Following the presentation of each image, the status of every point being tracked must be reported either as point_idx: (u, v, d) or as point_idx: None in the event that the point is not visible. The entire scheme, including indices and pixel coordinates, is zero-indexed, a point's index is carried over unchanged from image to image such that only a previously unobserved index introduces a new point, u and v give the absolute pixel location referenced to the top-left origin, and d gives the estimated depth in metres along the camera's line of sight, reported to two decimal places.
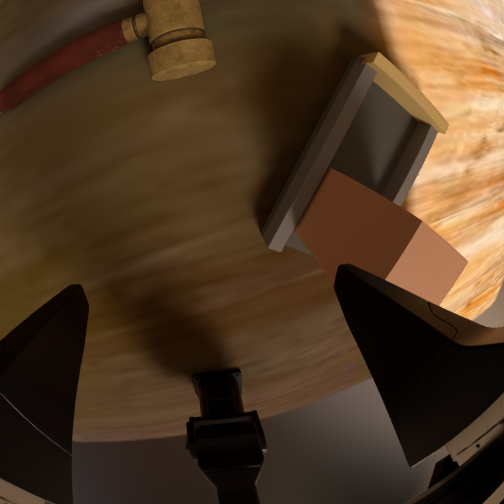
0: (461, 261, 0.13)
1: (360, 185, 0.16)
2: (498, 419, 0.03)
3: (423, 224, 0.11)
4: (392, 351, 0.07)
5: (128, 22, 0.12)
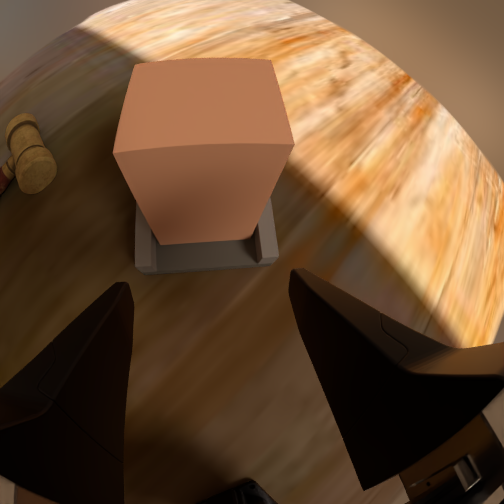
0: (252, 62, 0.11)
1: None
2: (454, 458, 0.03)
3: (139, 64, 0.10)
4: (339, 367, 0.06)
5: (4, 164, 0.18)
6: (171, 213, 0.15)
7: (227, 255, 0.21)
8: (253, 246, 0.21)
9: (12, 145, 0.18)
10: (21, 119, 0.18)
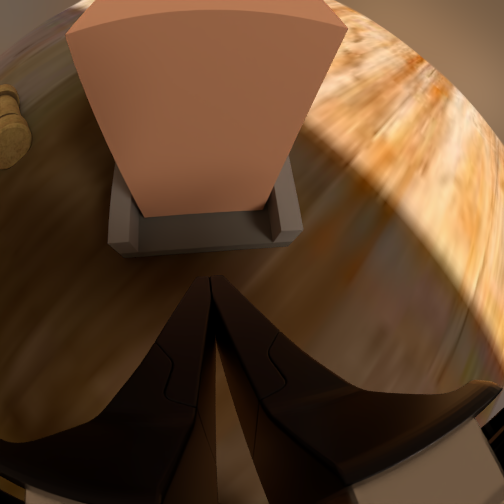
0: None
1: None
2: None
3: None
4: (235, 386, 0.06)
5: None
6: (154, 158, 0.10)
7: (232, 230, 0.16)
8: (267, 219, 0.16)
9: None
10: (0, 89, 0.13)
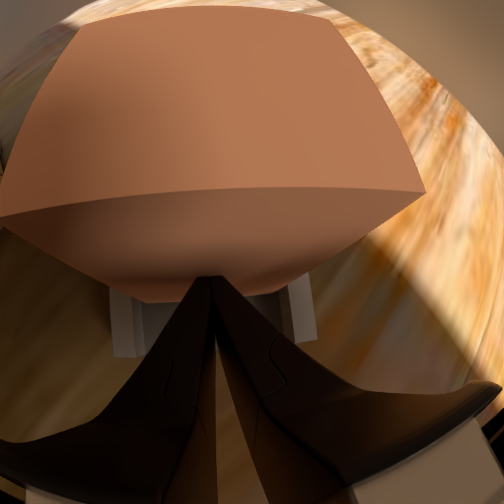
0: (300, 17, 0.05)
1: None
2: None
3: (89, 24, 0.04)
4: (235, 386, 0.06)
5: None
6: (154, 284, 0.09)
7: None
8: (279, 317, 0.15)
9: None
10: None
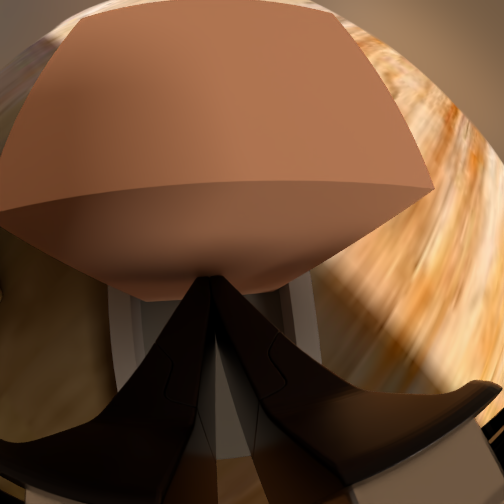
0: (302, 10, 0.05)
1: None
2: None
3: (87, 17, 0.04)
4: (235, 386, 0.06)
5: None
6: (152, 283, 0.09)
7: None
8: None
9: None
10: None
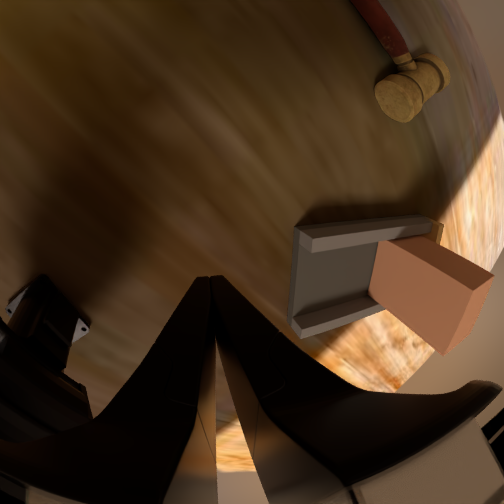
0: (472, 327, 0.20)
1: (451, 251, 0.23)
2: None
3: (493, 277, 0.18)
4: (235, 386, 0.06)
5: (410, 56, 0.17)
6: (416, 274, 0.22)
7: (302, 296, 0.25)
8: (305, 313, 0.26)
9: (426, 70, 0.18)
10: (446, 82, 0.18)
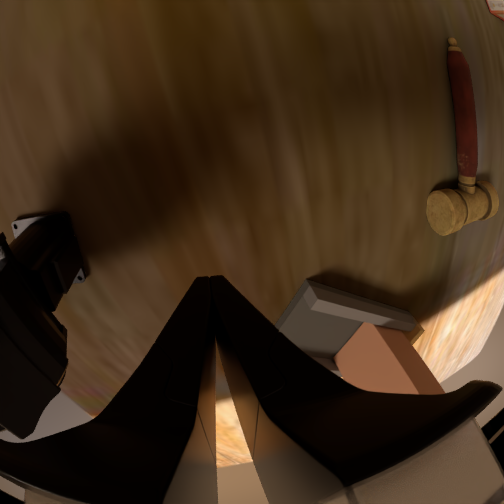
0: None
1: (419, 356, 0.25)
2: None
3: None
4: (235, 386, 0.06)
5: (474, 181, 0.20)
6: (383, 363, 0.24)
7: None
8: None
9: (480, 199, 0.21)
10: (490, 215, 0.21)
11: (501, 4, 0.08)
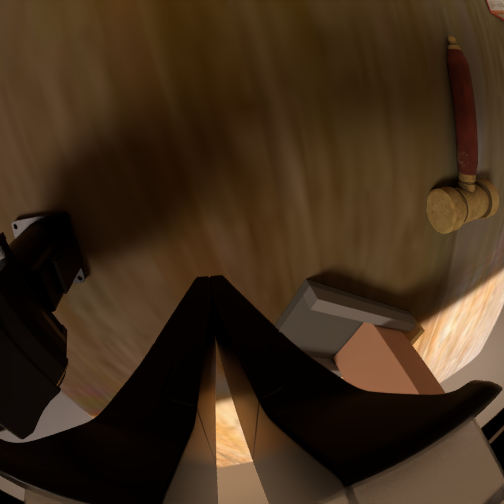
0: None
1: (419, 356, 0.25)
2: None
3: None
4: (235, 386, 0.06)
5: (474, 179, 0.20)
6: (383, 363, 0.24)
7: None
8: None
9: (481, 198, 0.20)
10: (491, 214, 0.21)
11: (501, 4, 0.08)
